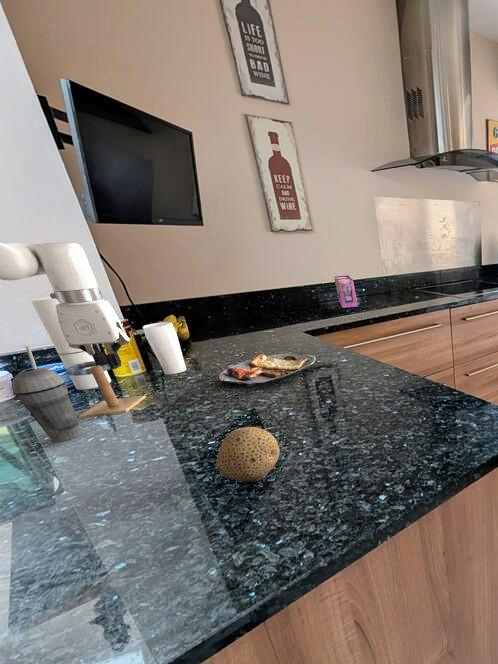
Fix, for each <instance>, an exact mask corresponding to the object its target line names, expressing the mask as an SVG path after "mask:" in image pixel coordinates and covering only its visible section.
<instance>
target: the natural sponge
mask: <svg viewBox="0 0 498 664" xmlns="http://www.w3.org/2000/svg"><path fill="white" fill-rule="evenodd" d="M217 453H218V454H217V458H216V462H215V467H216V469H217V471H218V472H219V474H220V476H222V477H223V478H226V479H230V480H235V481H239V482H249V483H251V482H253V483H254V482H258V481H261V480H262V479H264V478H265V477H266V476H267V475H268V474H269V473H270V471H271V470H272V469H273V468H274V467H275V466H276V464H277V462H278V460H279V456H280V455H281V451H280V446H279V443H278V441H277V439H276V438H275V437H274V436H273V435H272V434H271V433H270V432H269V431H268V430H266V429H264V428H261V427H257V426H246V427H244V426H243V427H238V428H236V429H234V430H233V431H231V432H229V433H228V434H227V435H226V436H225V438H223V440H222V442H221V444H220V447H219V449H218V452H217Z"/></svg>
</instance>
